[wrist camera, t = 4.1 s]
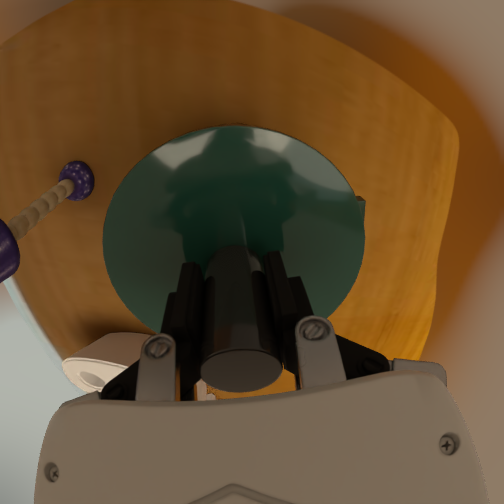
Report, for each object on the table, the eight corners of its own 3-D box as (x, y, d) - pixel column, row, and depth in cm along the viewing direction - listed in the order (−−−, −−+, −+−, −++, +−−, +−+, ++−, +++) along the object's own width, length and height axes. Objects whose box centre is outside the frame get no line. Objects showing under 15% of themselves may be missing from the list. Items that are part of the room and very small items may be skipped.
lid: (78, 158, 11) (-20, 224, 5) (361, 115, 11) (472, 151, 5) (154, 347, 18) (140, 437, 12) (344, 324, 18) (379, 410, 12)
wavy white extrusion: (233, 420, 50) (235, 464, 41) (162, 424, 51) (159, 464, 42) (165, 305, 32) (150, 376, 23) (68, 318, 33) (42, 374, 24)
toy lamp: (90, 208, 25) (-3, 319, 11) (56, 197, 24) (-44, 291, 9) (97, 166, 23) (-19, 257, 8) (61, 155, 22) (-59, 231, 7)
